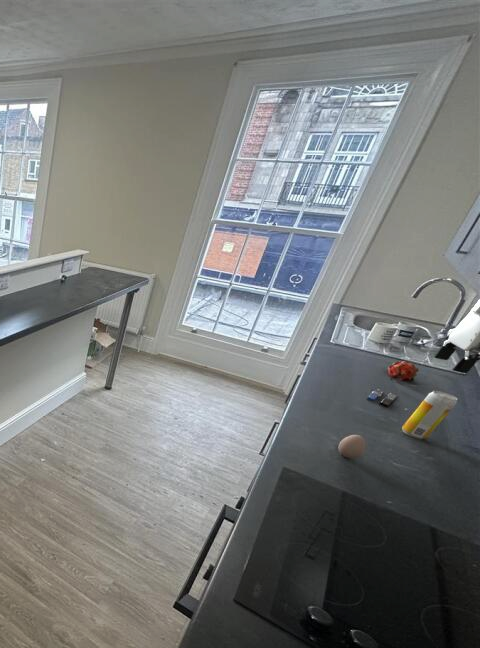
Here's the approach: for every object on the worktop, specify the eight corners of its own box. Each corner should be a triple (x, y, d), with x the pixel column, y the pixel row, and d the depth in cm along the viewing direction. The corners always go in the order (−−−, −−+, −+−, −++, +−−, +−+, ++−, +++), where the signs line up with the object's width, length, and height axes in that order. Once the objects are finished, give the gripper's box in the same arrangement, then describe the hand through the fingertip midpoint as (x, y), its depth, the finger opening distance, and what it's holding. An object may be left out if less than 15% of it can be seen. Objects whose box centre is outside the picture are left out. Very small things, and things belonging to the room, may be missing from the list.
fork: (374, 402, 147) (375, 399, 146) (365, 398, 148) (366, 396, 148) (384, 392, 154) (385, 390, 154) (375, 389, 156) (376, 387, 156)
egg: (357, 457, 115) (373, 437, 111) (355, 465, 112) (371, 444, 108) (335, 447, 118) (349, 428, 115) (332, 455, 115) (346, 434, 111)
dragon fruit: (399, 379, 170) (391, 390, 164) (385, 363, 172) (376, 372, 166) (425, 371, 163) (418, 382, 157) (410, 354, 164) (402, 364, 159)
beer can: (421, 432, 130) (454, 394, 123) (428, 442, 126) (462, 402, 118) (397, 426, 133) (428, 387, 125) (403, 435, 128) (435, 396, 121)
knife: (386, 407, 144) (388, 405, 143) (379, 404, 145) (380, 402, 145) (397, 396, 152) (398, 394, 152) (389, 393, 154) (391, 391, 153)
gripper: (534, 324, 103) (484, 380, 112) (489, 305, 117) (448, 357, 126) (496, 317, 106) (450, 373, 114) (457, 300, 120) (418, 351, 128)
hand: (449, 365), depth 120 cm, fingers open, 9 cm apart
